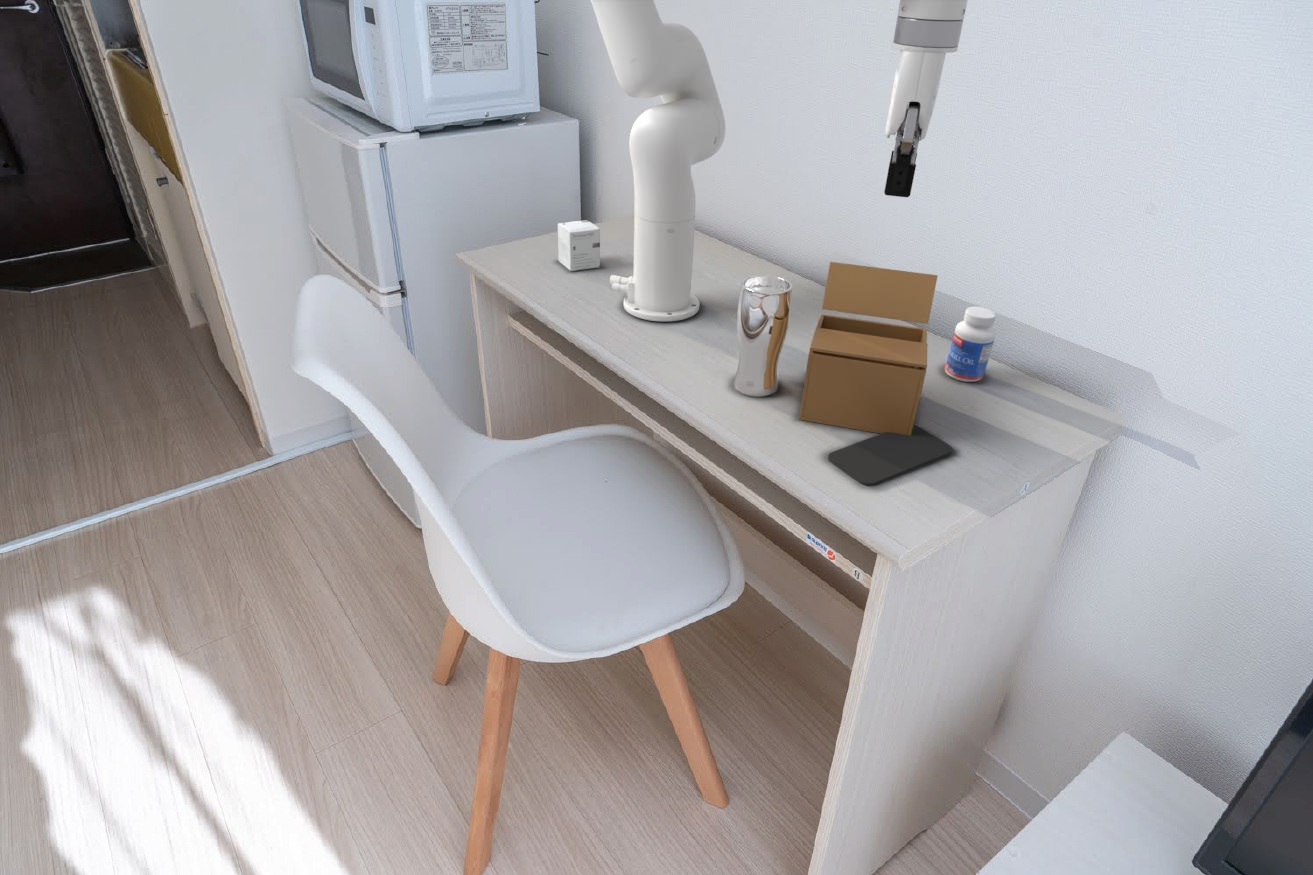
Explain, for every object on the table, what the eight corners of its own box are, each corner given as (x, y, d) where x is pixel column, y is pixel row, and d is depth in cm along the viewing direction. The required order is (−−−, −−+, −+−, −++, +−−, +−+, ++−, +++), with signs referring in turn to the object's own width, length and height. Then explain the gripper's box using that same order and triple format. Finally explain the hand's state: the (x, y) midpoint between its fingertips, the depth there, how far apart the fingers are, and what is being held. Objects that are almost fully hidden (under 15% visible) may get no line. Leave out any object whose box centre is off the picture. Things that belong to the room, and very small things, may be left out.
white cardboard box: (570, 272, 146) (569, 232, 142) (558, 261, 150) (556, 222, 146) (600, 267, 148) (600, 228, 144) (587, 257, 153) (587, 218, 149)
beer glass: (778, 401, 107) (792, 296, 100) (727, 395, 109) (736, 290, 101) (782, 378, 113) (795, 277, 105) (733, 372, 114) (742, 271, 106)
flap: (821, 309, 109) (822, 309, 109) (927, 324, 106) (927, 323, 106) (830, 261, 107) (830, 261, 108) (937, 275, 104) (937, 275, 105)
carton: (811, 375, 114) (821, 308, 109) (912, 391, 111) (928, 323, 106) (798, 419, 104) (809, 347, 98) (910, 438, 100) (927, 365, 95)
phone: (823, 454, 96) (911, 422, 103) (822, 460, 97) (910, 427, 103) (867, 486, 91) (957, 449, 98) (866, 491, 91) (955, 455, 98)
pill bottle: (936, 372, 116) (952, 309, 111) (957, 362, 119) (973, 301, 114) (970, 386, 113) (987, 323, 108) (990, 376, 116) (1008, 313, 111)
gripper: (897, 27, 103) (872, 171, 113) (891, 40, 89) (863, 203, 98) (958, 31, 101) (927, 176, 111) (961, 45, 87) (926, 210, 97)
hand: (898, 187), depth 105 cm, fingers open, 5 cm apart
